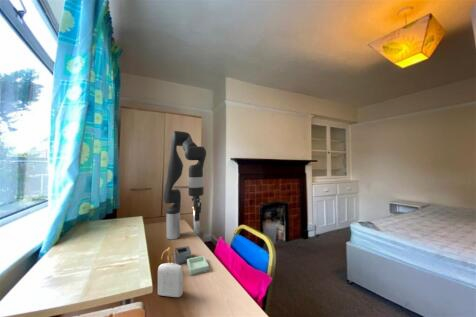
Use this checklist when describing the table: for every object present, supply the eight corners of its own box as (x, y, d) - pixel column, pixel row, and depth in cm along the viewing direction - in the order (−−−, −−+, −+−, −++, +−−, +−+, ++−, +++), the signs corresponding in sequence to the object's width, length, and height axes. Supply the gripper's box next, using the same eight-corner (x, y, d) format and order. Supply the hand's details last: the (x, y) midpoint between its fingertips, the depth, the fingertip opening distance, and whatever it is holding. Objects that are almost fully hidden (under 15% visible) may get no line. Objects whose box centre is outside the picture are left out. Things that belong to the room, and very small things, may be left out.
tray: (186, 263, 103) (186, 258, 103) (203, 260, 107) (203, 255, 107) (190, 275, 93) (190, 270, 93) (208, 270, 97) (208, 265, 97)
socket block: (174, 257, 110) (174, 248, 110) (188, 254, 113) (188, 245, 113) (175, 264, 103) (175, 255, 103) (191, 261, 106) (191, 252, 106)
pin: (199, 230, 102) (199, 205, 102) (201, 233, 99) (200, 207, 99) (191, 232, 101) (191, 206, 101) (193, 234, 97) (192, 208, 97)
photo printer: (184, 291, 82) (184, 261, 82) (180, 298, 78) (179, 267, 78) (161, 289, 84) (161, 260, 84) (156, 296, 80) (155, 265, 79)
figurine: (162, 278, 91) (161, 252, 91) (160, 271, 97) (160, 247, 97) (180, 273, 95) (180, 248, 95) (178, 266, 101) (177, 243, 100)
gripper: (206, 187, 95) (207, 223, 95) (200, 183, 108) (201, 215, 108) (190, 188, 92) (191, 225, 92) (186, 184, 105) (186, 217, 105)
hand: (196, 219), depth 100 cm, fingers closed on pin, 3 cm apart
